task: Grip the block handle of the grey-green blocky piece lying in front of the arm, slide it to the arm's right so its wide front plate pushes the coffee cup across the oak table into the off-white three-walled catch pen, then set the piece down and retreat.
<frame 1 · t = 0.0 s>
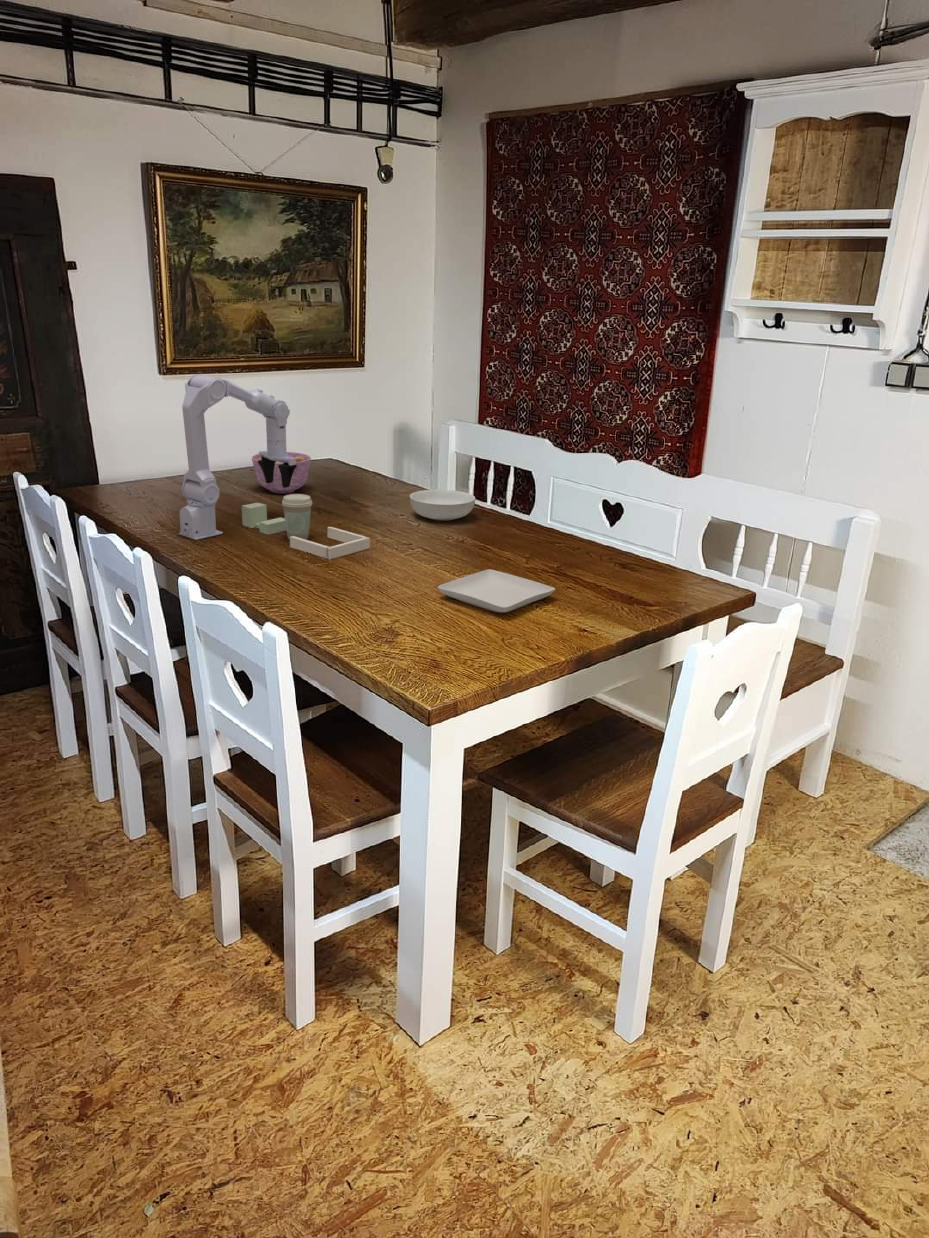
hand: (277, 485, 277), 10 cm above the table, tool pointing down, fingers open, 7 cm apart
catch pen: (329, 547, 253), on the table
grey-green blocky piece: (254, 525, 271), on the table
coffee cup: (297, 538, 260), on the table
bowl of food: (282, 491, 313), on the table
serving bowl: (441, 518, 289), on the table
salad plate: (495, 600, 220), on the table
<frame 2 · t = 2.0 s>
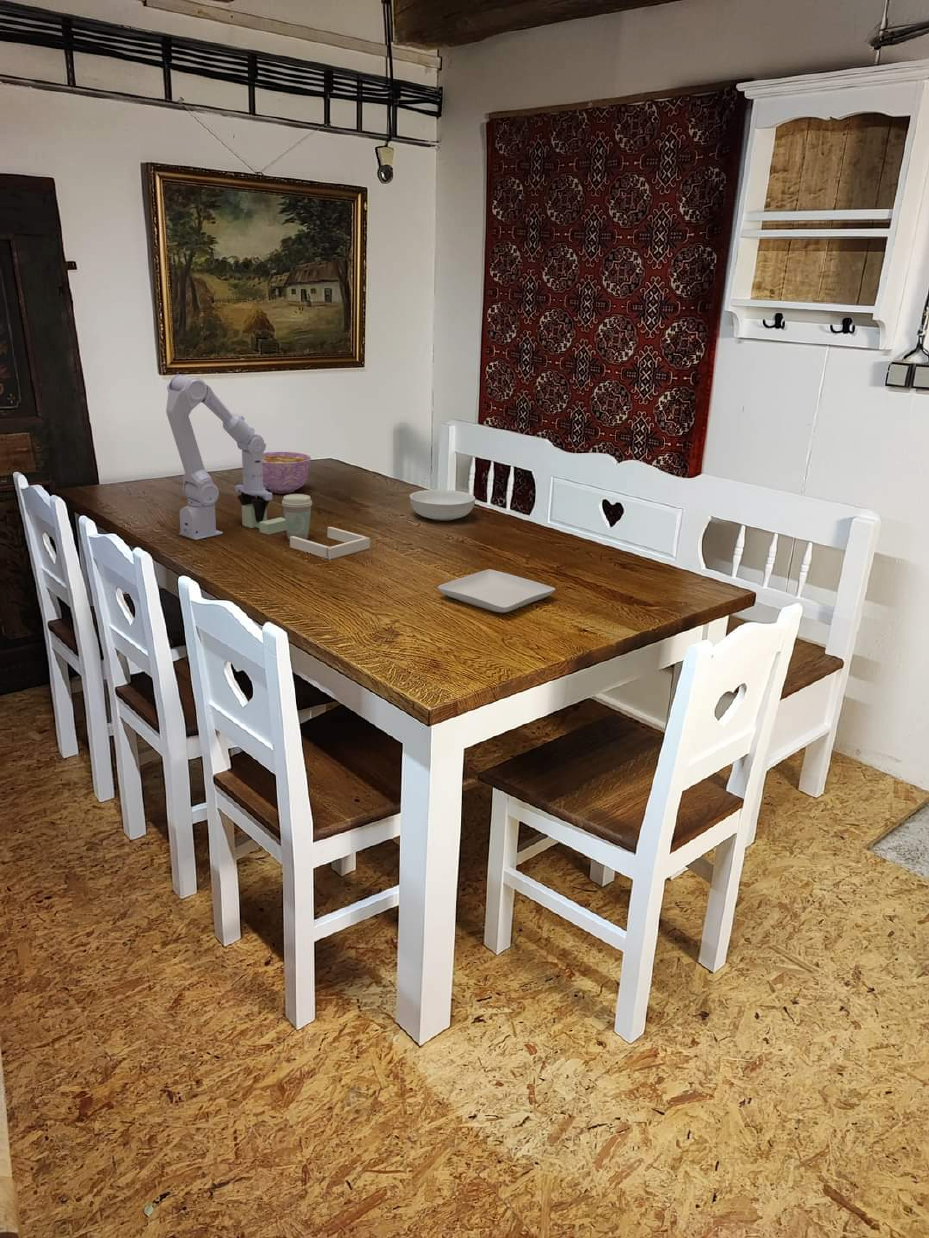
hand: (254, 519, 270), 2 cm above the table, tool pointing down, fingers closed on grey-green blocky piece, 4 cm apart
grey-green blocky piece: (254, 524, 271), on the table, touching gripper
everything else where it was.
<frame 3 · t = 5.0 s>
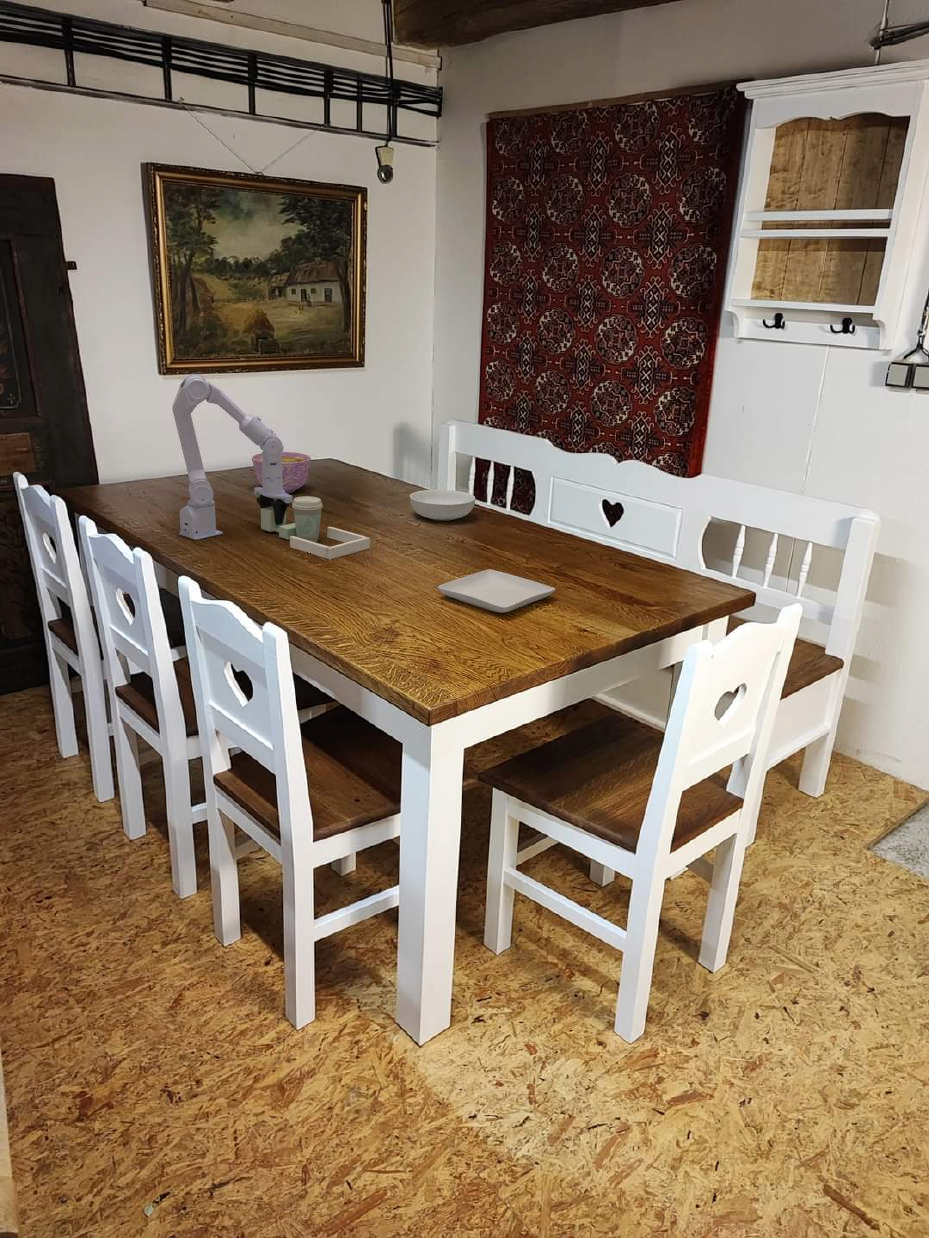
hand: (273, 522, 265), 2 cm above the table, tool pointing down, fingers closed on grey-green blocky piece, 4 cm apart
grey-green blocky piece: (273, 528, 266), point 1 cm above the table, touching coffee cup, gripper
coffee cup: (307, 541, 258), on the table, touching grey-green blocky piece
everything else where it was.
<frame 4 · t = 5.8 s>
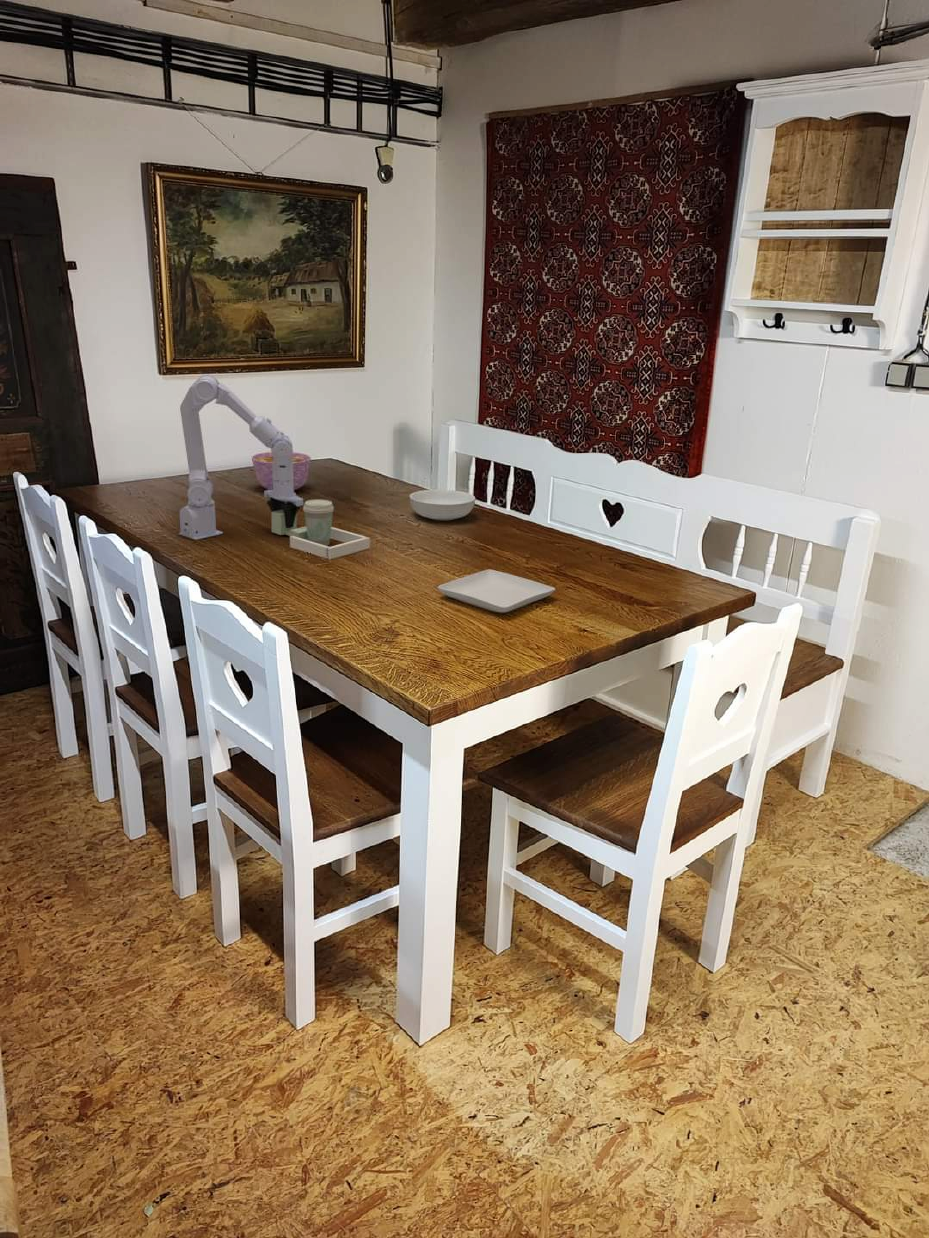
hand: (284, 525, 263), 2 cm above the table, tool pointing down, fingers closed on grey-green blocky piece, 4 cm apart
grey-green blocky piece: (284, 531, 263), point 1 cm above the table, touching coffee cup, gripper
coffee cup: (319, 544, 255), on the table, touching grey-green blocky piece
everything else where it was.
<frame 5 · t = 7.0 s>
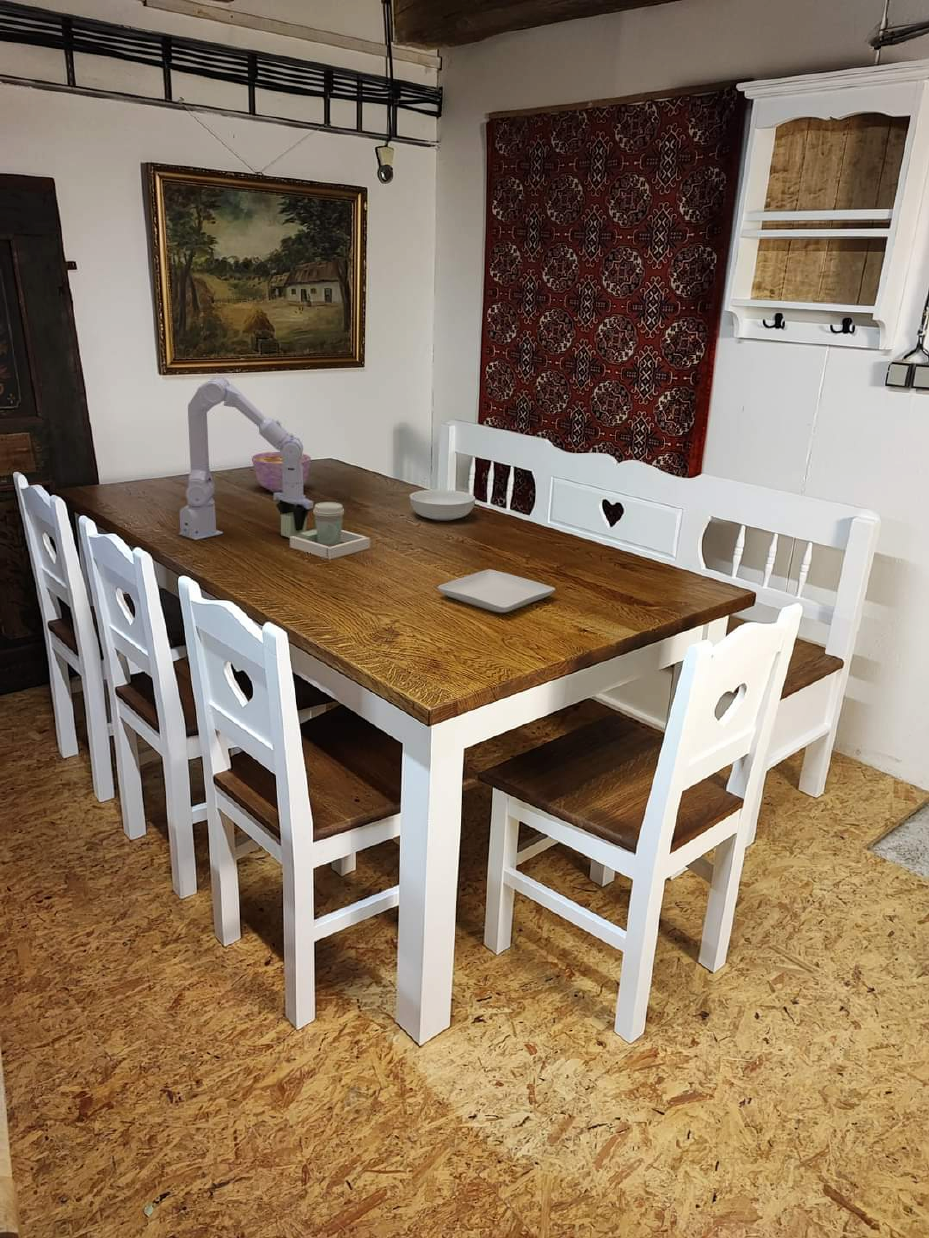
hand: (293, 528, 260), 2 cm above the table, tool pointing down, fingers closed on grey-green blocky piece, 4 cm apart
grey-green blocky piece: (293, 534, 261), point 1 cm above the table, touching coffee cup, gripper
coffee cup: (329, 548, 253), on the table, touching grey-green blocky piece
everything else where it was.
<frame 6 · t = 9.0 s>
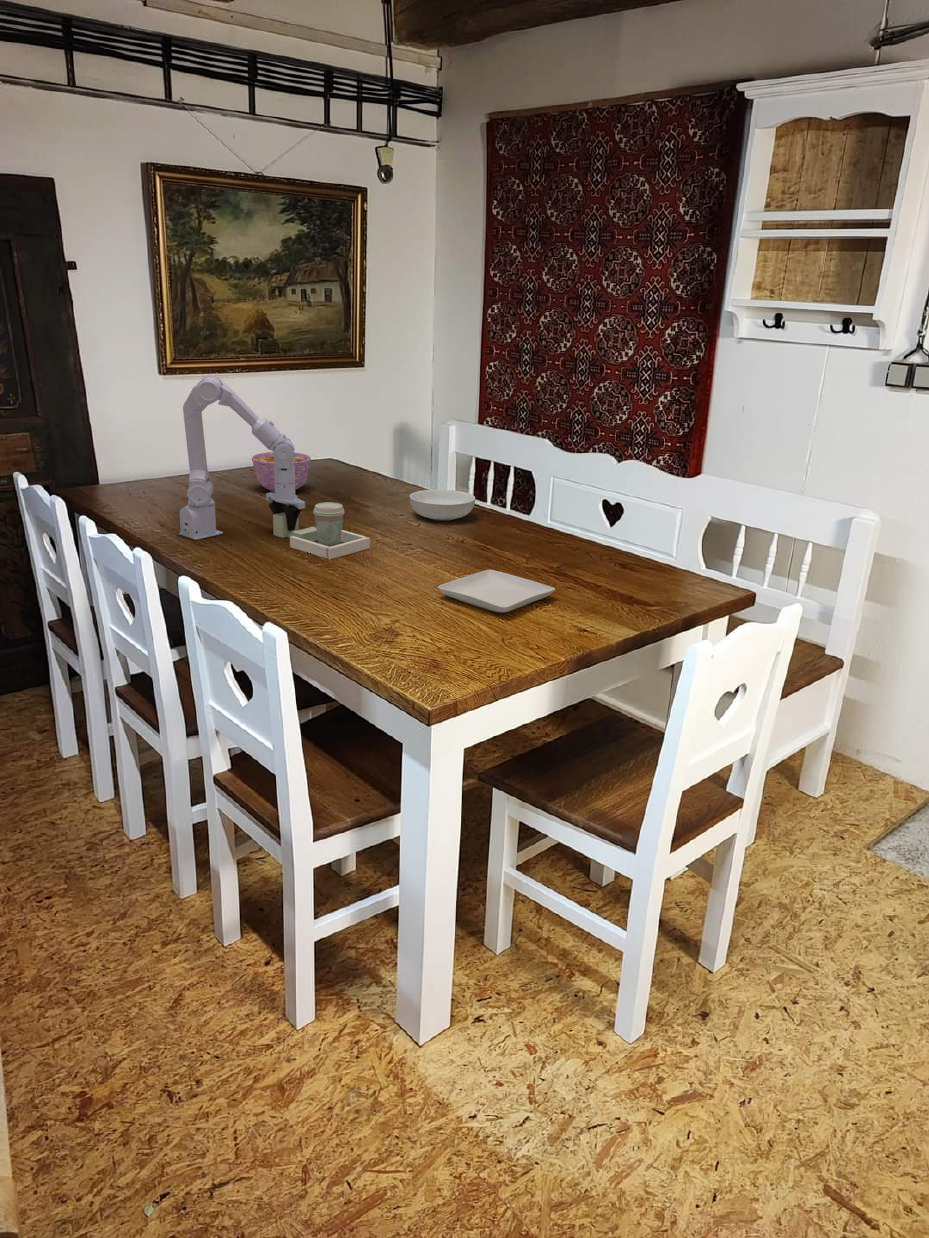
hand: (286, 528, 262), 2 cm above the table, tool pointing down, fingers closed on grey-green blocky piece, 4 cm apart
grey-green blocky piece: (286, 534, 263), on the table, touching gripper
coffee cup: (329, 548, 253), on the table
everything else where it was.
when the fingers open (2 cm above the table, at t = 9.0 s): grey-green blocky piece stays where it is, on the table.
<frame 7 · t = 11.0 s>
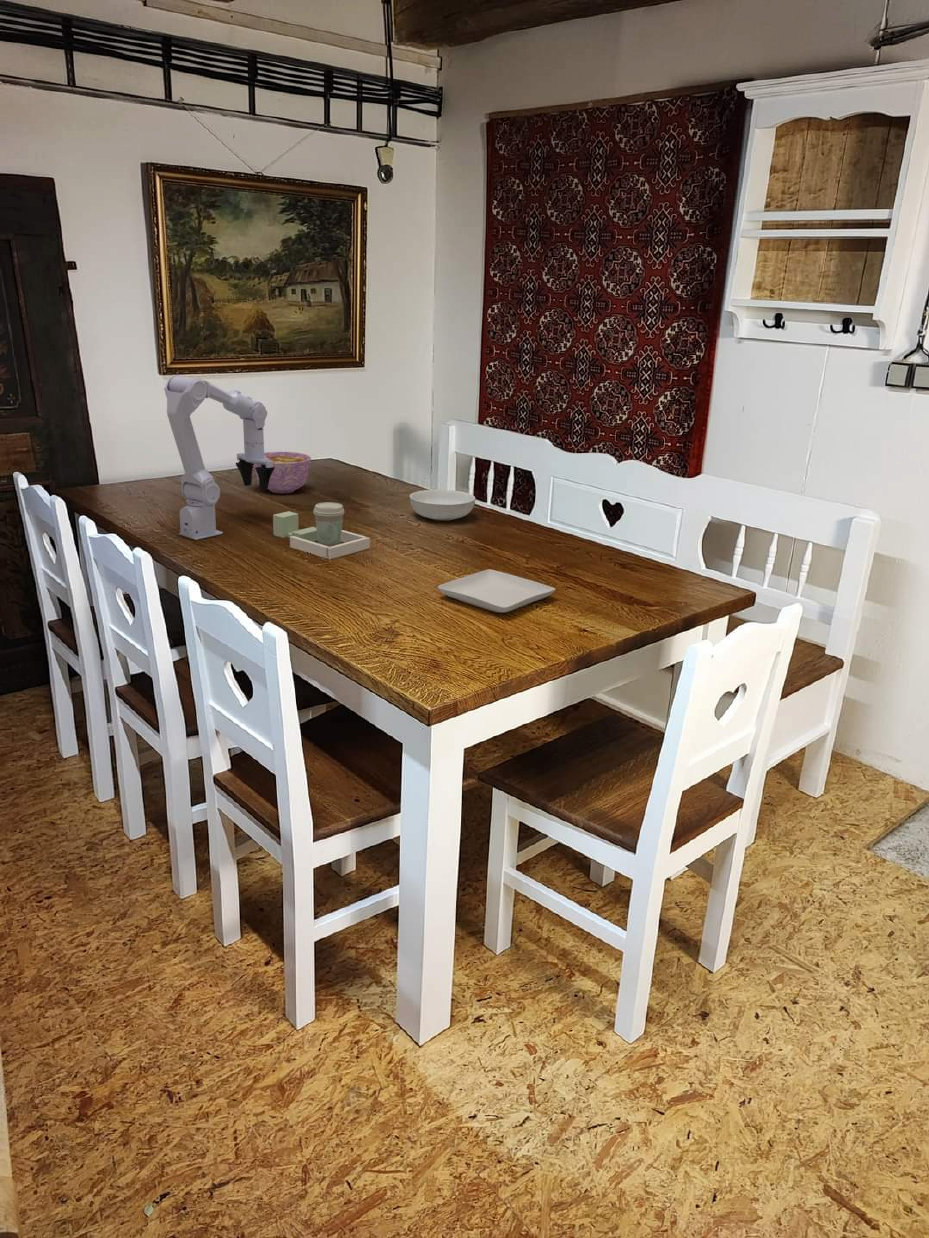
hand: (255, 487, 273), 10 cm above the table, tool pointing down, fingers open, 7 cm apart
grey-green blocky piece: (286, 534, 263), on the table
everything else where it was.
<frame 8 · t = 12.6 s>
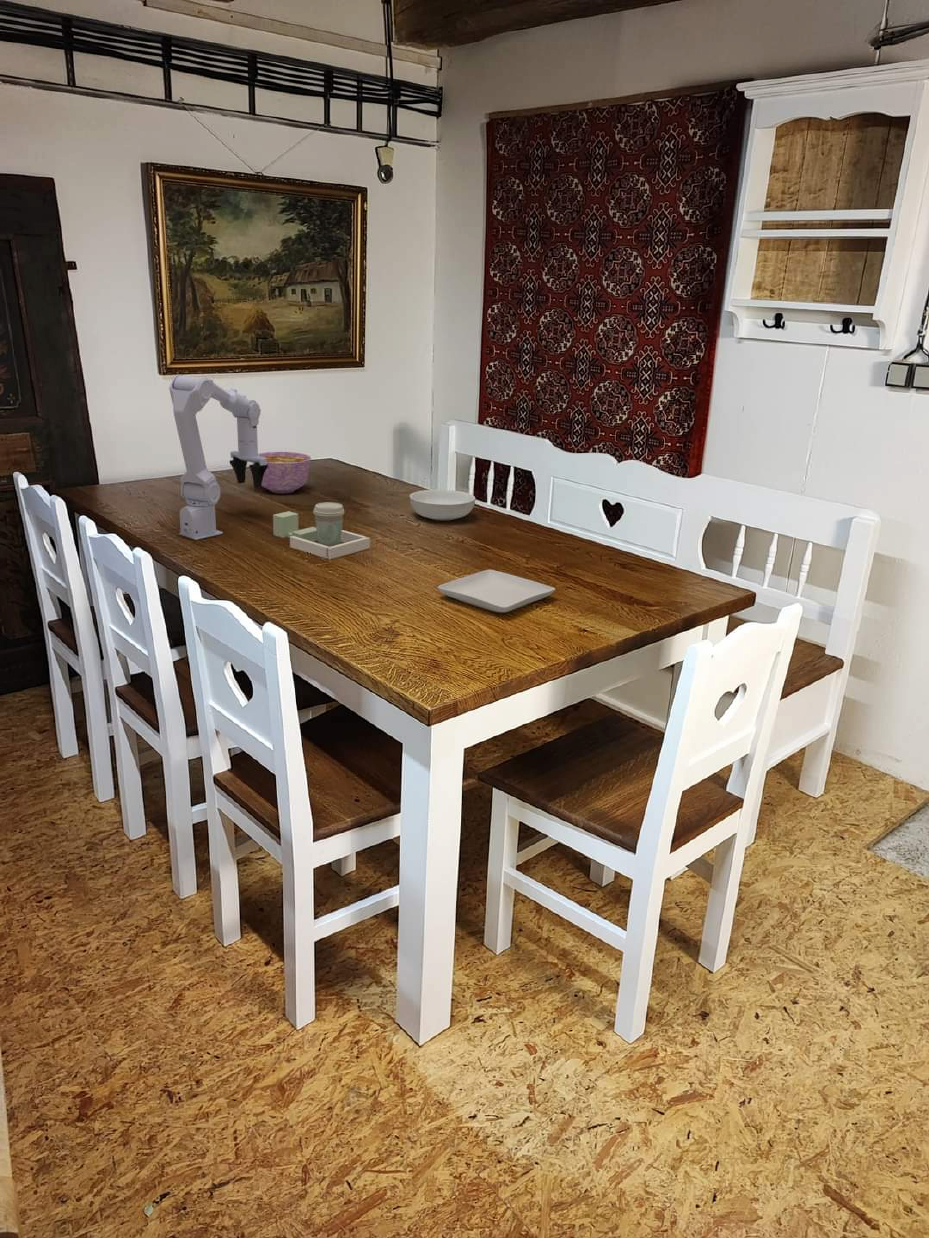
hand: (249, 485, 276), 10 cm above the table, tool pointing down, fingers open, 7 cm apart
nothing on the table moved.
at the end: coffee cup inside the target area on the catch pen (0.5 cm from its centre), point 0.0 cm above the catch pen's base; coffee cup tilted 0°; the gripper is holding nothing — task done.
